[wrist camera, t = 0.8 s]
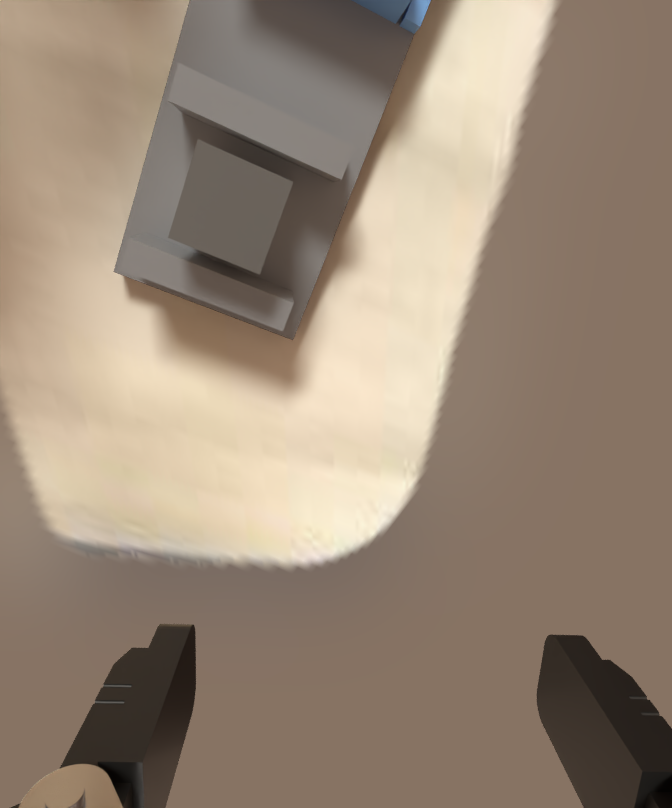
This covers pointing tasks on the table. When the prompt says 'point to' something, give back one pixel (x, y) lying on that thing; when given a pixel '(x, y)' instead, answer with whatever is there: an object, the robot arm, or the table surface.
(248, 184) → the grey block
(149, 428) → the table surface
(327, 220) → the grey fixture board
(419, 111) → the table surface
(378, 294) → the table surface
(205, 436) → the table surface
